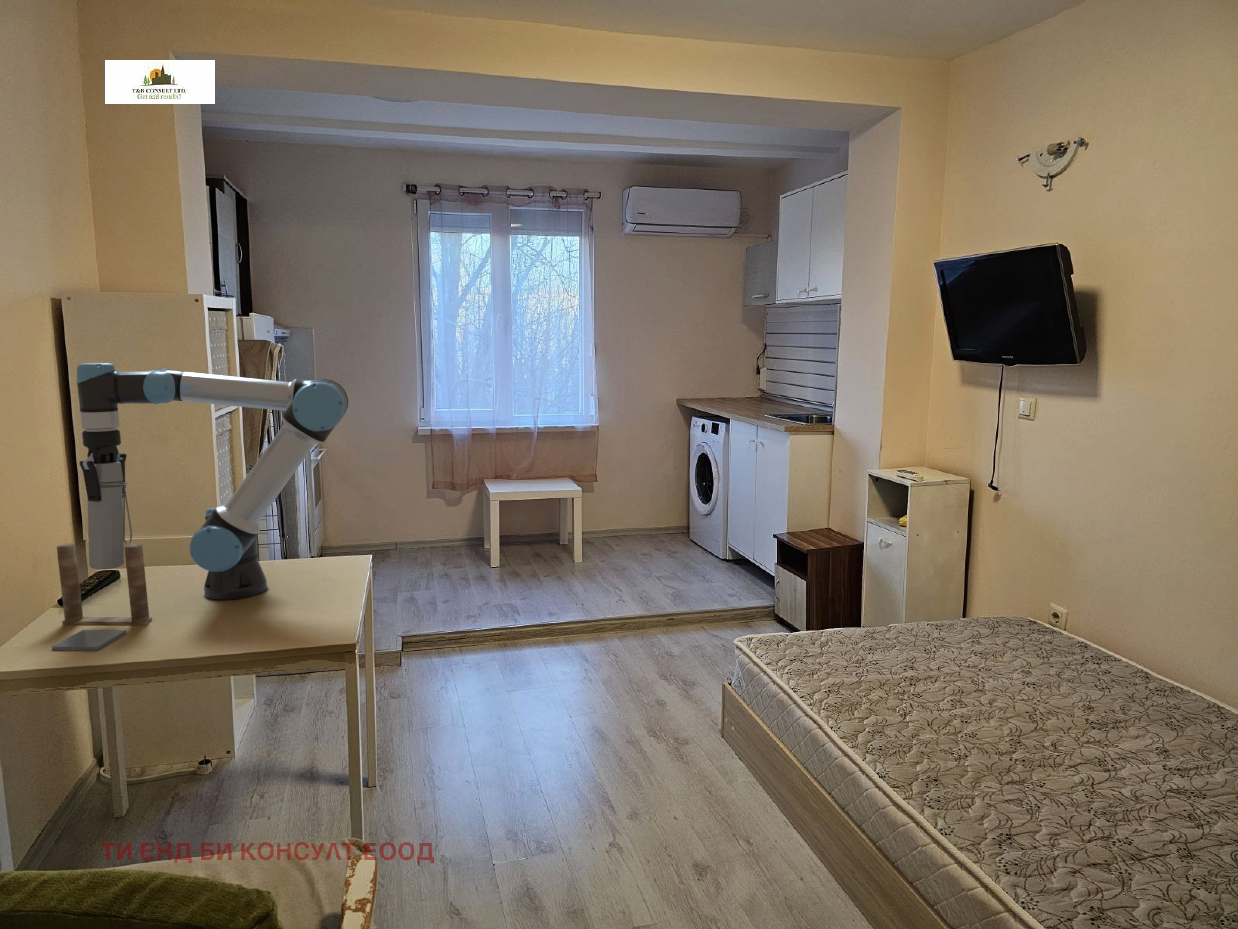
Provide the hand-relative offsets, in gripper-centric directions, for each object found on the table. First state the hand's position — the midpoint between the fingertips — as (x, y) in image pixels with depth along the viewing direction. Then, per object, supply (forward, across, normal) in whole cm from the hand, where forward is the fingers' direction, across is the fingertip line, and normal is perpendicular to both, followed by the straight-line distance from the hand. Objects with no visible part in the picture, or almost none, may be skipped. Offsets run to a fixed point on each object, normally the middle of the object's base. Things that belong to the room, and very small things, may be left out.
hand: (110, 526), depth 192 cm
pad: (+22, +17, +5) cm, 28 cm away
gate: (+22, +5, 0) cm, 23 cm away
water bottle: (+10, +1, 0) cm, 10 cm away
